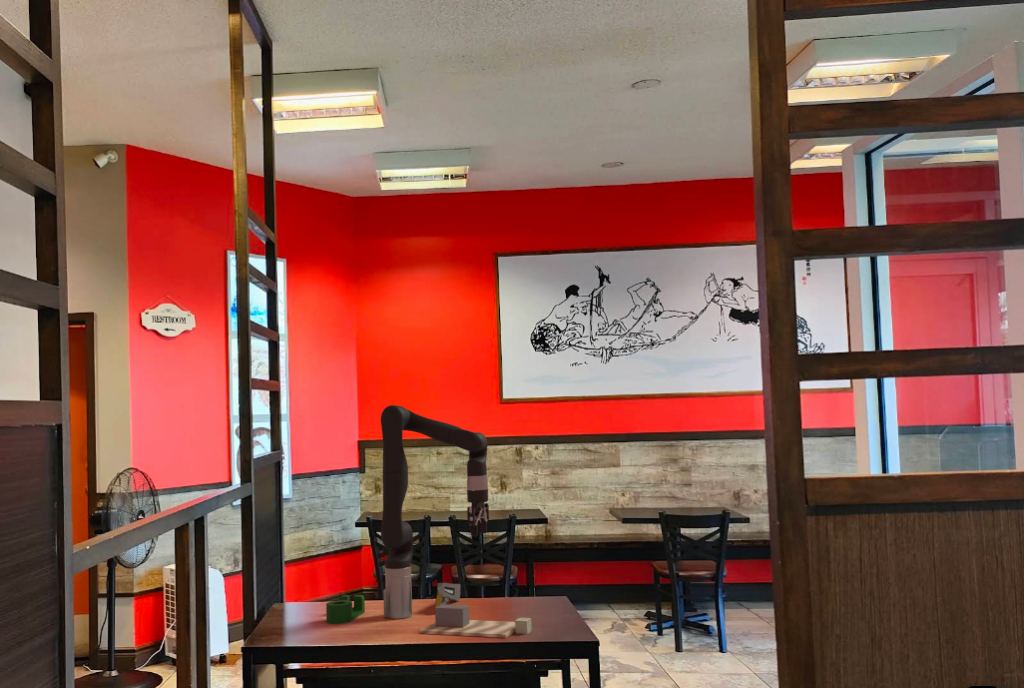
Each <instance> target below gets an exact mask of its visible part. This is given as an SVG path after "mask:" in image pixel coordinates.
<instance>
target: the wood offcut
mask: <svg viewBox="0 0 1024 688" xmlns="http://www.w3.org/2000/svg"><path fill="white" fill-rule="evenodd" d="M514 622H515V629H516V631H515V634H518V635H519V634H521V635H522V634H524V635H528V634H530V633H531V632H532V618H530V617H518V618H517V619H515V621H514Z"/></svg>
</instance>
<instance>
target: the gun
mask: <svg viewBox="0 0 1024 688" xmlns="http://www.w3.org/2000/svg"><path fill="white" fill-rule="evenodd" d="M436 589H437V590H436V591H437V592H436V593H437V594H436V598H435V603H434V611H433V613H434V615H435V608H436V607H438V606H440V605H447V603H449V602H460V599H461V584H460V583H449V582H437V588H436Z"/></svg>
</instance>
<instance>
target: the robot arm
mask: <svg viewBox="0 0 1024 688" xmlns="http://www.w3.org/2000/svg"><path fill="white" fill-rule="evenodd" d="M380 425H381V427H380V428H381V435H382V517H381V528H380V538H381V542H382V544H383V545H384V547H385V548H387V549H389V553H388V555H387V557H386V558H385V560H384V568H385V569H384V570H385V572H384V573H385V575H384V576H385V588H384V589H383V591H382V592H383V593H382V594H383V596H382V597H383V617H384V618H387V619H394V620H395V619H397V620H398V619H405V618H406V619H407V618H411V617H413V596H412V594H413V592H412V559H413V555H414V554H413V553H414V532H413V529H412V526H411V525H410V524H409V523H408V522H407V521H405V520H403V518H402V517H403V515H402V513H403V512H402V511H403V504H404V502H405V498H406V494H407V491H408V488H409V487H408V486H409V465H408V461H407V460H408V459H407V457H406V453H405V449H404V445H403V435H404V434H403V432H404V431H407V432H414V433H417V434H421V435H423V436H426V437H428V438H431V439H433V440H435V441H438V442H441V443H444V444H448V445H451V446H455V447H457V448H460V449H462V450H463V451H464V450H465V451H468V460H467V462H466V492H467V493H466V499H467V500H466V501H467V503H469V504H471V506H467V507H466V508H467V510H466V511H467V512H466V514H467V515H466V517H467V522H466V523H467V525H469V526H470V536H471V537H478V535H479V534H478V533H479V532H478V524H479V527H480V528H479V529H480V533H481V534H486V533H487V532H488V529H487V528H488V526H487V525H488V521H489V520H490V511H489V509H490V508H489V507H490V506H489V503H488V501H489V483H488V473H487V456H488V440H487V437H486V436H485V434H484V433H482V432H478V431H476V432H475V431H470V430H467V429H463V428H461V427H460V426H457V425H454V424H451V423H448V422H443V421H440V420H435V419H432V418H428V417H425V416H423V415H420V414H418V413H415V412H414V411H411V410H409V409H408V408H405V406H403V405H402V406H401V405H394V404H393V405H392V404H391V405H388V406H386V407H384V409H383V411H382V412H381V414H380ZM478 522H480V523H478Z"/></svg>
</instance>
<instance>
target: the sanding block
mask: <svg viewBox="0 0 1024 688" xmlns="http://www.w3.org/2000/svg"><path fill="white" fill-rule="evenodd" d="M434 609H435V614H434V616H435V617H434V619H435V621H434V622H435V623H436V626H437V627H457V628H464V627H465V626H467V625H469V620H470V605H466V604H463V605H461V604H446V605H440V606H438V607H436V608H435V607H434Z"/></svg>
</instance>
